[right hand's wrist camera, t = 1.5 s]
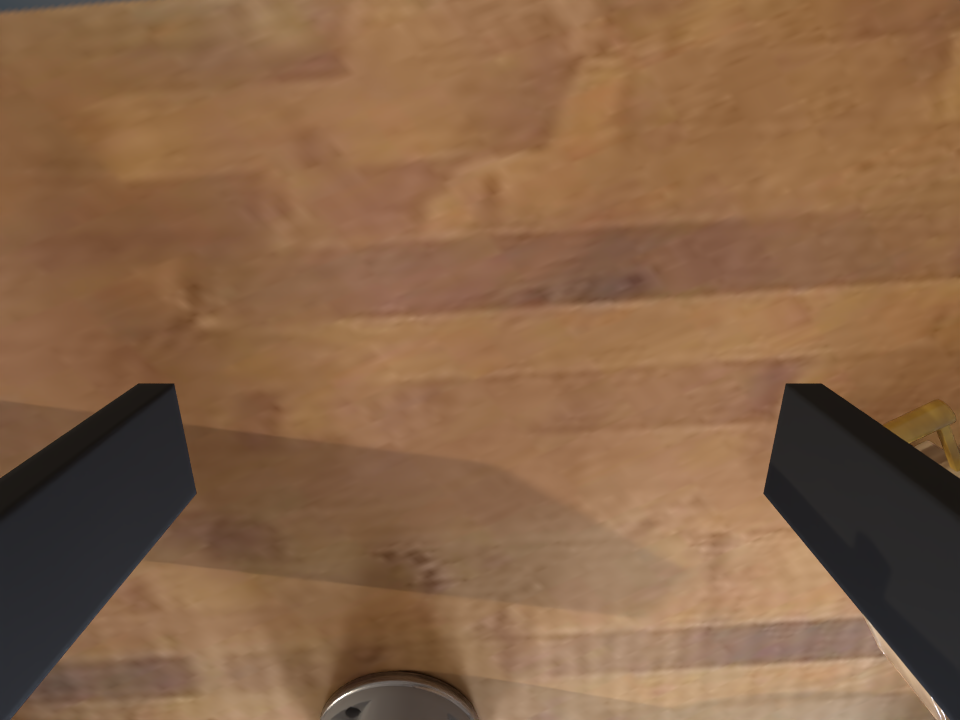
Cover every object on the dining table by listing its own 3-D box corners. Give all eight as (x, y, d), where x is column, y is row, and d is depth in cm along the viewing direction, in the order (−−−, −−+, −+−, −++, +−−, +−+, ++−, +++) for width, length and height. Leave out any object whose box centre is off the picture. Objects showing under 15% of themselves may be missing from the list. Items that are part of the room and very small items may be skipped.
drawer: (788, 436, 42) (847, 492, 35) (905, 379, 40) (990, 425, 34) (877, 621, 48) (941, 699, 41) (981, 578, 46) (1066, 652, 40)
